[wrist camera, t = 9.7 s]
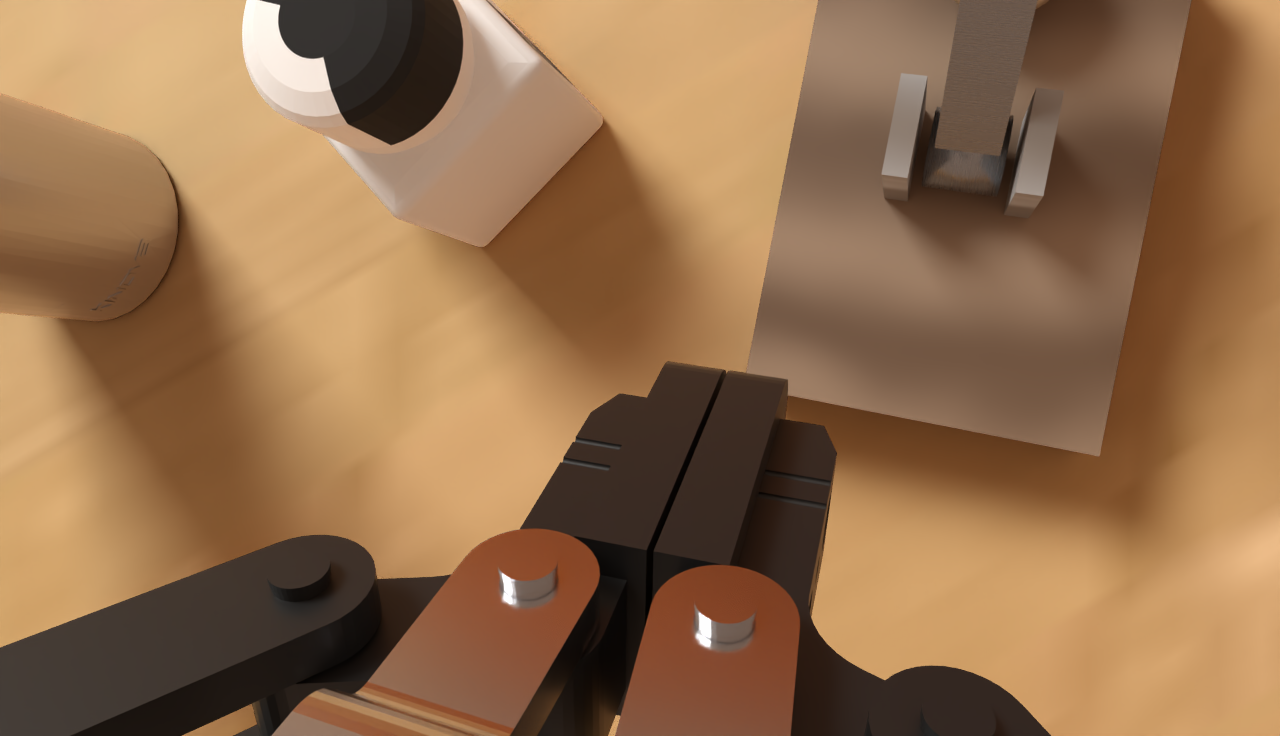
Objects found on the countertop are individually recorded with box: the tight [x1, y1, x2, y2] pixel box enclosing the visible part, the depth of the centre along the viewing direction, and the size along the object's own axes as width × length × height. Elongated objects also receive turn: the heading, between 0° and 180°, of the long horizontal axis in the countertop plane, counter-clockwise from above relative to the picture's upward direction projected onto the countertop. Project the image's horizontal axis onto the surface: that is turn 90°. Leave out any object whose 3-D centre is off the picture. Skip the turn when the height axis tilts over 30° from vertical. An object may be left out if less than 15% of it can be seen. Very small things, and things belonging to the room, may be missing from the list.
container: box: [242, 0, 603, 247], centre depth 37 cm, size 8×8×13 cm
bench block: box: [746, 0, 1191, 456], centre depth 34 cm, size 18×12×8 cm, turn 169°
